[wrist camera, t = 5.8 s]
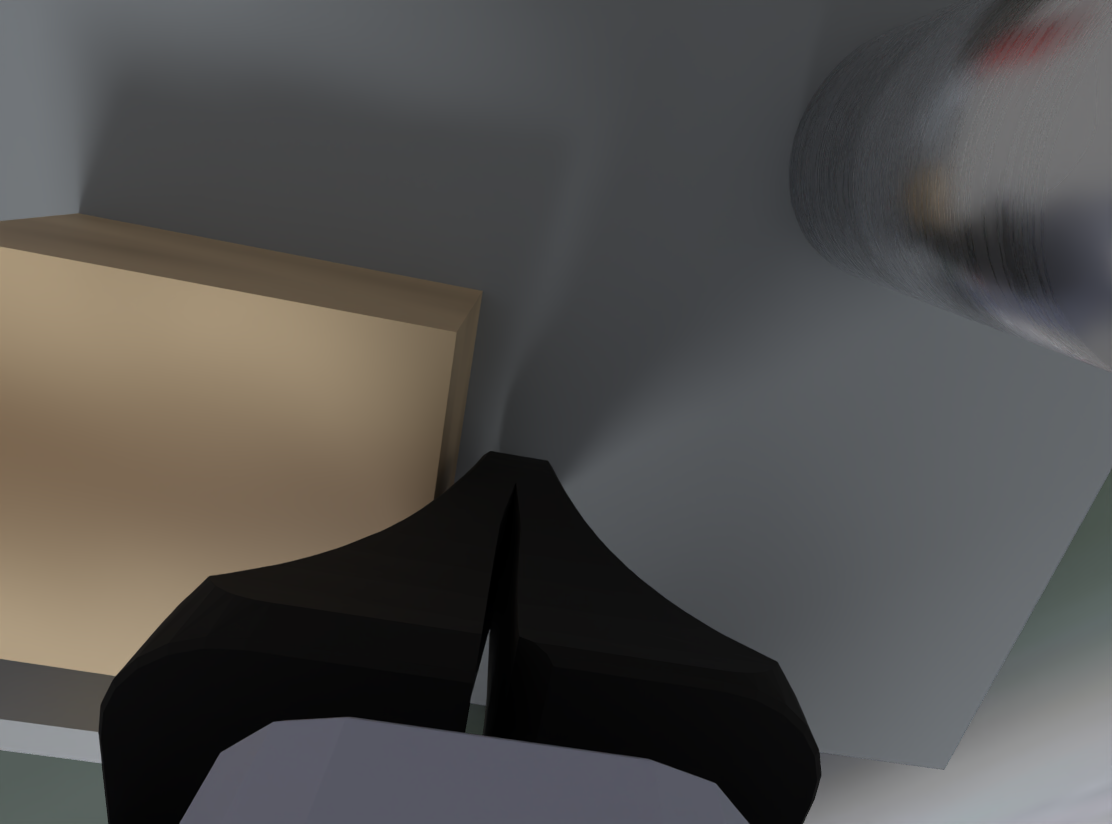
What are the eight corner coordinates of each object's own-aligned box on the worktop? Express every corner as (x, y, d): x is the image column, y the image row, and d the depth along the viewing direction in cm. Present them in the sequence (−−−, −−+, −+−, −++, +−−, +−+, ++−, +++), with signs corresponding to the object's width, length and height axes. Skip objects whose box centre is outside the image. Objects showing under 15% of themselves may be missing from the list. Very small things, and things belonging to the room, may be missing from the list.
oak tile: (435, 606, 14) (403, 719, 11) (105, 553, 13) (-15, 656, 11) (482, 290, 11) (456, 332, 8) (78, 213, 11) (-91, 230, 8)
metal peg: (975, 300, 11) (1386, 433, 6) (759, 259, 11) (963, 356, 5) (1082, 48, 10) (1771, -108, 4) (835, -4, 10) (1220, -243, 4)
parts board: (935, 755, 16) (1015, 882, 13) (-109, 608, 14) (-271, 714, 12) (1411, -122, 9) (1773, -244, 7) (-401, -552, 8) (-926, -944, 5)
